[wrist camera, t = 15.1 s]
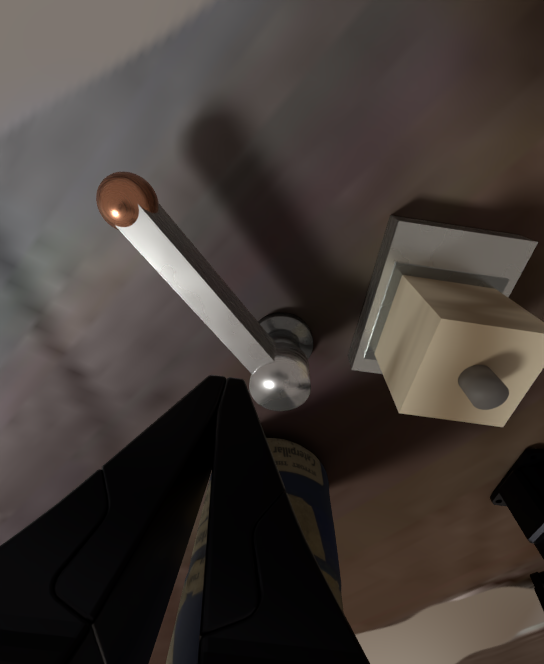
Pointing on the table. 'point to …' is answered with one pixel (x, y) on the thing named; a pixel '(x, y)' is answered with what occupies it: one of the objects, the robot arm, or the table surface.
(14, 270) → the table surface
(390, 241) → the plate
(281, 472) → the canister
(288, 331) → the grey metal flanged disc
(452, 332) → the block
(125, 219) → the lever
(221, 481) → the robot arm
